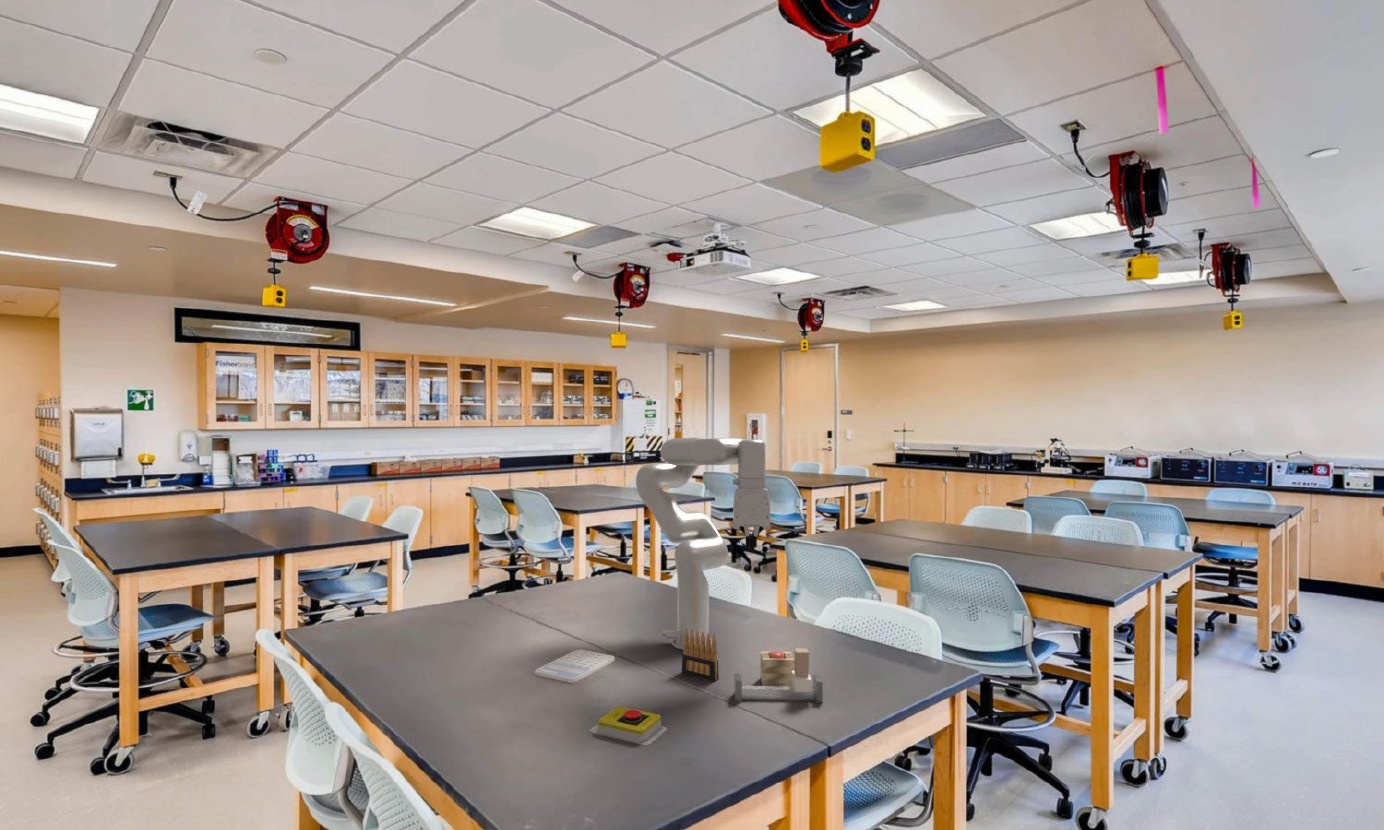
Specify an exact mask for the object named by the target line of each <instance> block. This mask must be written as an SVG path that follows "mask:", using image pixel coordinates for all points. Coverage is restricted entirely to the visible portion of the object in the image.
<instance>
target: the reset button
mask: <svg viewBox="0 0 1384 830" xmlns="http://www.w3.org/2000/svg"><path fill="white" fill-rule="evenodd" d="M770 652H771V653H770V658H771V659H784V653H783V652H784V651H778V650H776V651H775V650H774V651H770Z"/></svg>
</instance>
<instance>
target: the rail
mask: <svg viewBox="0 0 1384 830" xmlns="http://www.w3.org/2000/svg"><path fill="white" fill-rule="evenodd" d="M733 675H734V679H733V680H734V681H733V682H734V683H733V684H734V685H733V687H734V688H733V689H734V691H733V692H734V693H733V694H734V701H735V703H742V700H755V701H756V700H758V701H759V700H760V701H761V700H763V701H764V700H765V701H766V700H767V701H768V700H769V701H789V700H790V701H815V703H816V704H817V703H819V704H822V703H823V699H824V698H823V697H824V694H823V691H824V689H823V687H824V686H823V685H824V684H823V683H824V682H823V679H822V678H821V676H820V674H819V673H817V674H815V673H814V674H812V692H795V691H794V688H793V686H762V685H743V684H742V683H743V681H742V676H741V673H739V672H738V673H736V672H735V673H733Z"/></svg>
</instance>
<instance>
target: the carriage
mask: <svg viewBox="0 0 1384 830" xmlns="http://www.w3.org/2000/svg"><path fill="white" fill-rule="evenodd" d="M809 662H810V652H809V650H808V648H806V647H805V648H803V647H802V648H798V647H796V648H794V671H792V685H793V688H794V691H795V692H812V687H813V678H811V677H812V676H811V675H810V673H809V672H810V671H809V670H810V666H809V665H810V663H809Z"/></svg>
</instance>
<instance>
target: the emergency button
mask: <svg viewBox="0 0 1384 830" xmlns="http://www.w3.org/2000/svg"><path fill="white" fill-rule="evenodd" d="M667 730H668V728H667V727H666V726H663V725H662V718H661V715H660V714H658V713H654V712H653V713H652V712H648V711H644V710H639V709H634V708H630V707H625V706H617V707H615V708H614V709H612V710H611V711H610V712H608V713H606V714H605V715H604V716H602V717H601V718H599V719H598V721H597V724H595V725H594V726H593V727H591V728H590V729H589V730H588V731H589V733H591V734H594V735H600V736H602V737H603V736H604V737H607V738H611V739H616V740H619V741H624V742H627V743H632V744H636V745H637V744H638V745H641V746H651V744H652V743H654V742H655V741H656V740H657V739H658V738H659V737H660V736H662V735H663V734H665V732H666V731H667ZM653 741H654V742H653Z"/></svg>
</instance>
